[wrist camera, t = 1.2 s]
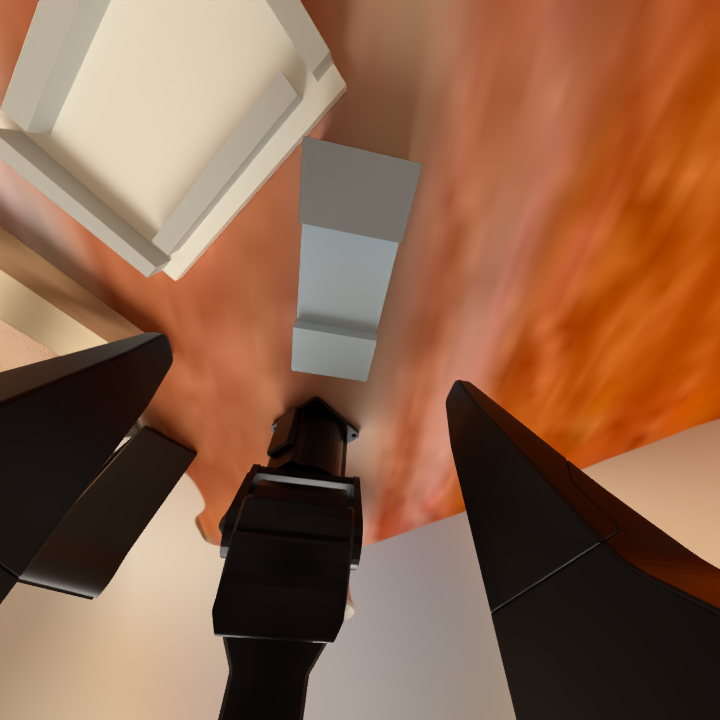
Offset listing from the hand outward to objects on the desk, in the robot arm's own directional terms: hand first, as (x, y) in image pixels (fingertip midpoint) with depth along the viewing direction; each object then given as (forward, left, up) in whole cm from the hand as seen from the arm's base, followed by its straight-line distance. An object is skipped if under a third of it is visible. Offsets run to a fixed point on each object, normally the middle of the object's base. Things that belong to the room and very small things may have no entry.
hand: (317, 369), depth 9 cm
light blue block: (0, 0, -12) cm, 12 cm away
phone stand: (-3, +31, -12) cm, 33 cm away
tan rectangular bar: (+10, +18, -12) cm, 24 cm away
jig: (+11, +2, -12) cm, 17 cm away
